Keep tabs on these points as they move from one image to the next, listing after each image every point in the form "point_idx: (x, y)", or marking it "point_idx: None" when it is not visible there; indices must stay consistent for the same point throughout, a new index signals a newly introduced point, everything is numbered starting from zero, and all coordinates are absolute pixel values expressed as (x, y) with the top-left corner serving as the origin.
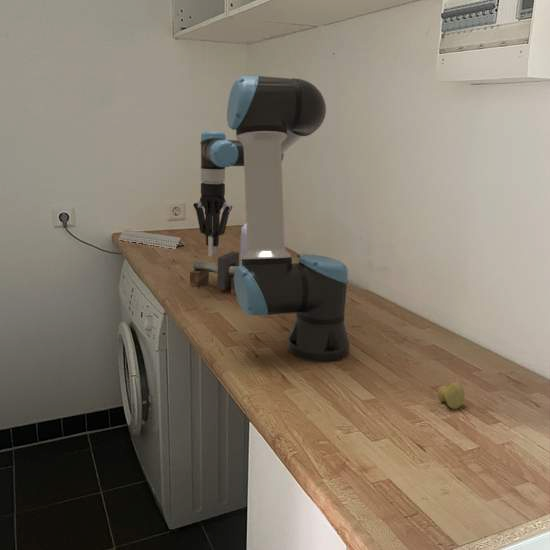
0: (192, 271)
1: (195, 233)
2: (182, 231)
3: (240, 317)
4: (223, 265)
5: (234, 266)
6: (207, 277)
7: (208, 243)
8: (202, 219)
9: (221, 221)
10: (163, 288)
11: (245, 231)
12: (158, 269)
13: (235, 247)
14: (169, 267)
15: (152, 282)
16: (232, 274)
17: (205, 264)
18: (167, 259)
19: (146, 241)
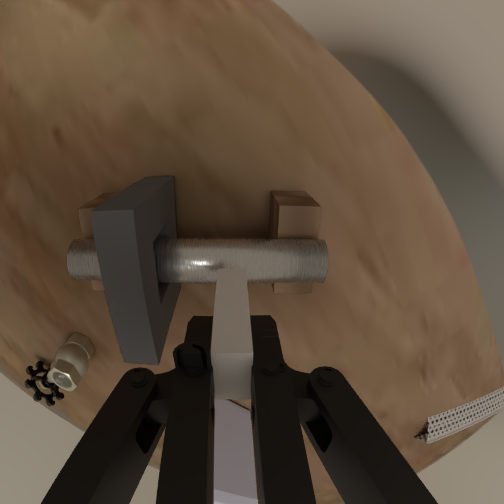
0: (313, 216)
1: None
2: (423, 465)
3: (32, 33)
4: (112, 199)
5: None
6: None
7: (247, 315)
8: (358, 483)
9: (85, 478)
10: (376, 132)
11: (228, 498)
12: (445, 300)
13: (322, 473)
14: (425, 329)
15: (429, 180)
16: None
17: (261, 252)
18: (437, 370)
19: (475, 407)
